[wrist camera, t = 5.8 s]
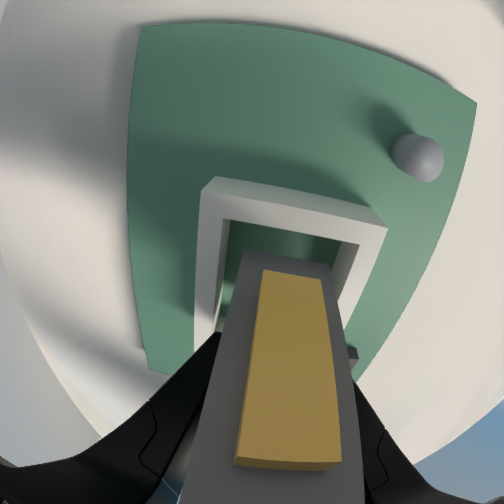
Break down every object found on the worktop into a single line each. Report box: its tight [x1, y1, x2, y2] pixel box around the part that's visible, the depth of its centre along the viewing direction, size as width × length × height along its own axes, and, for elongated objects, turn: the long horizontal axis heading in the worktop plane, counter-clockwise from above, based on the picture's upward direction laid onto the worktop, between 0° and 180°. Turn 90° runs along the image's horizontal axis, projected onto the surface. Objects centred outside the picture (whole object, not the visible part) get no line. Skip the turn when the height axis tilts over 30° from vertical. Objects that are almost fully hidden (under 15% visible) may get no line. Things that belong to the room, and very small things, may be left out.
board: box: [127, 23, 477, 383], centre depth 12 cm, size 20×14×3 cm
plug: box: [179, 249, 365, 504], centre depth 7 cm, size 6×3×8 cm, turn 172°
